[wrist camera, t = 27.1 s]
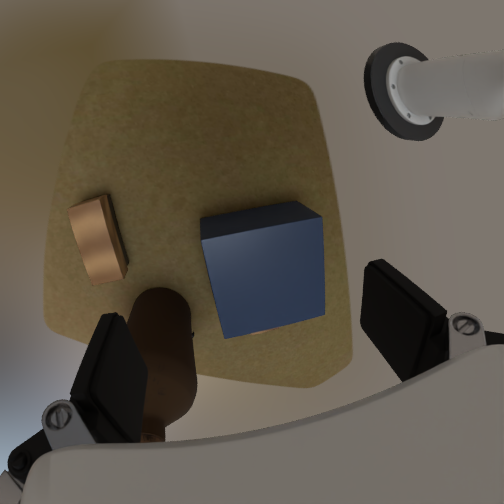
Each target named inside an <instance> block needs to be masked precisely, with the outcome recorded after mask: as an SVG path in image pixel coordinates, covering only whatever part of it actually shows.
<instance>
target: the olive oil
mask: <svg viewBox="0 0 504 504" xmlns="http://www.w3.org/2000/svg"><path fill="white" fill-rule="evenodd" d="M127 326H128V329H129V331H130V333H131V335H132V337H133V339H134V341H135V344H136V346H137V348H138V350H139V352H140V354H141V356H142V358H143V360H144V362H145V364H146V366H147V369H148V380H147V387H146V394H145V402H144V411H143V420H142V430H141V441H140V443H153V442H165V427H166V426H168V425H170V424H171V423H173V422H174V421H176V420H178V419H179V418H181V417H182V416H183V415H185V414H186V413H187V412H188V411H189V409H190V408H191V406H192V404H193V402H194V399H195V396H196V392H197V375H196V367H195V359H194V350H193V340H192V338H193V336H194V332H193V333H192V329H191V312H190V308H189V305H188V303H187V302H186V300H185V299H184V298H183V297H182V296H181V295H179V294H178V293H176V292H174V291H172V290H169V289H165V288H153V289H149V290H147V291H145V292H143V293H142V294H141V295H140V296H139V297H138V298H137V299H136V301H135V303H134V306H133V309H132V311H131V314H130V317H129V319H128V322H127Z"/></svg>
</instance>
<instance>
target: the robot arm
mask: <svg viewBox="0 0 504 504" xmlns="http://www.w3.org/2000/svg"><path fill="white" fill-rule="evenodd" d="M386 87H387V92H388V95H389V98H390V100H391V103H392V105H393V106H394V108H395V110H396V111H397V112H398V114H399V115H400V116H401V117H402V118H403V119H405V120H406V121H408V122H410V123H412V124H416V125H425V124H428V123H430V122H431V121H432V120H433V119H434V118H435V117H457V118H471V119H482V120H493V121H497V120H501V119H504V50H498V51H491V52H482V53H473V54H465V55H457V56H451V57H444V58H439V59H433V60H427V61H422V62H420V61H419V60H417V59H415V58H412V57H408V56H405V57H400V58H397V59H395V60H394V61H392V63H391V64H390V65H389V67H388V69H387V74H386ZM446 314H447V310H445V309H444V308H443V307H442V306H441V305H440V304H438V303H437V302H436V301H435V300H434V299H433V298H431V297H430V296H429V295H428V294H427V293H425V292H424V291H423V290H422V289H420V288H419V287H418V286H417V285H416V284H414V283H413V282H412V281H411V280H409V279H408V278H407V277H406V276H404V275H403V274H402V273H401V272H399V271H398V270H397V269H395V268H394V267H393V266H392V265H390V264H389V263H388V262H386V261H385V260H384V259H378V260H374V261H370V262H369V263H368V265H367V266H366V267H365V269H364V282H363V297H362V307H361V318H360V324H361V327H362V329H363V330H364V332H365V333H366V334H367V336H368V337H369V338H370V340H371V341H372V342H373V344H374V345H375V346H376V348H377V349H378V350H379V352H380V353H381V354H382V355H383V357H384V358H385V359H386V361H387V362H388V364H389V365H390V366H391V368H392V369H393V370H394V372H395V373H396V374H397V376H398V377H399V378H400V380H401V381H402V383H400V384H398V385H396V386H393V387H391V388H389V389H386V390H384V391H382V392H379V393H377V394H374V395H372V396H369V397H367V398H364V399H362V400H359V401H356V402H353V403H351V404H348V405H345V406H342V407H339V408H336V409H333V410H330V411H327V412H324V413H321V414H317V415H314V416H311V417H307V418H304V419H301V420H296V421H293V422H289V423H285V424H281V425H276V426H272V427H268V428H263V429H258V430H253V431H248V432H243V433H238V434H231V435H225V436H218V437H211V438H203V439H194V440H184V441H170V442H153V443H140V441H141V430H142V420H143V411H144V402H145V394H146V387H147V380H148V369H147V366H146V364H145V362H144V360H143V358H142V356H141V354H140V352H139V350H138V348H137V346H136V344H135V341H134V339H133V337H132V335H131V333H130V331H129V329H128V326H127V324H126V322H125V320H124V318H123V316H121V315H120V316H119V315H118V313H116V312H115V313H108V314H103V315H102V316H101V318H100V320H99V322H98V324H97V327H96V329H95V331H94V333H93V336H92V338H91V340H90V343H89V345H88V348H87V350H86V353H85V355H84V357H83V360H82V363H81V365H80V367H79V370H78V372H77V375H76V378H75V381H74V383H73V386H72V389H71V392H70V395H71V398H70V401H68V400H63V399H62V400H57V401H55V402H53V403H51V404H50V405H49V406H48V407H47V408H46V409H45V411H44V412H43V415H42V426H43V429H42V430H40V431H39V432H38V433H36V434H35V435H33V436H32V437H31V438H29V439H28V440H27V441H25V442H24V443H22V444H21V445H19V446H18V447H16V448H15V449H14V450H13V451H12V452H11V454H10V455H9V458H8V469H9V471H8V472H7V471H6V470H4V471H3V473H2V474H1V475H0V504H504V334H502V333H496V332H489V331H484V328H483V324H482V322H481V321H480V320H479V319H478V318H477V317H476V316H474V315H472V314H470V313H465V312H459V313H455V314H453V315H452V316H451V317H450V318H449V319H448V318H447V317H446Z"/></svg>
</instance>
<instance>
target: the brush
mask: <svg viewBox="0 0 504 504" xmlns="http://www.w3.org/2000/svg"><path fill="white" fill-rule="evenodd" d="M67 212H68V215H69V219H70V222H71V226H72V229H73V232H74V235H75V239H76V242H77V245H78V248H79V251H80V254H81V256H82V259H83V262H84V265H85V267H86V270H87V273H88V275H89V278H90V281H91V283H92V285H98V284H103V283H108V282H112V281H117V280H122V279H124V277H125V275H126V273H127V271H128V268H127V265H128V263H129V260H128V257H127V254H126V251H125V248H124V244H123V241H122V238H121V234H120V231H119V227H118V224H117V220H116V216H115V212H114V209H113V205H112V201H111V197H110V194H109V195H103V196H100V197H96V198H93V199H90V200H86V201H83V202H80V203H77V204H74V205H73V206H71V207H69V208H68V209H67Z"/></svg>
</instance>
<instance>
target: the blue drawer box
mask: <svg viewBox="0 0 504 504" xmlns="http://www.w3.org/2000/svg"><path fill="white" fill-rule="evenodd" d="M200 234H201V244H202V248H203V253H204V257H205V262H206V266H207V270H208V275H209V279H210V283H211V287H212V291H213V295H214V300H215V304H216V308H217V312H218V315H219V319H220V323H221V327H222V331H223V335H224V338H225V339H227V338H232V337H237V336H241V335H246V334H251V333H255V332H259V331H264V330H268V329H272V328H276V327H280V326H284V325H288V324H292V323H296V322H300V321H304V320H307V319H311V318H315V317H318V316H322V315H325V273H324V243H323V223H322V217H321V216H320V215H318V214H317V213H315V212H314V211H312V210H311V209H309V208H308V207H306V206H304V205H303V204H301V203H300V202H298V201H292V202H286V203H280V204H274V205H269V206H263V207H258V208H252V209H247V210H241V211H236V212H231V213H226V214H220V215H215V216H210V217H205V218H201V219H200Z"/></svg>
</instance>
